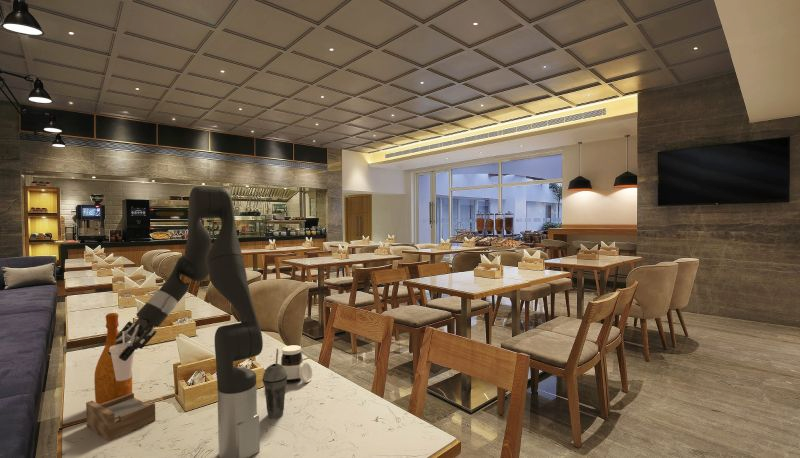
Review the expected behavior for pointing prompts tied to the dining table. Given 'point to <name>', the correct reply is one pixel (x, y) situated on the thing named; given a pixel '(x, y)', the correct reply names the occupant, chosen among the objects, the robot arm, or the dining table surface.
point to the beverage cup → (275, 388)
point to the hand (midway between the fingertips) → (116, 357)
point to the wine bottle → (109, 368)
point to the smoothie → (121, 361)
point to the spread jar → (295, 365)
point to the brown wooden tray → (119, 416)
